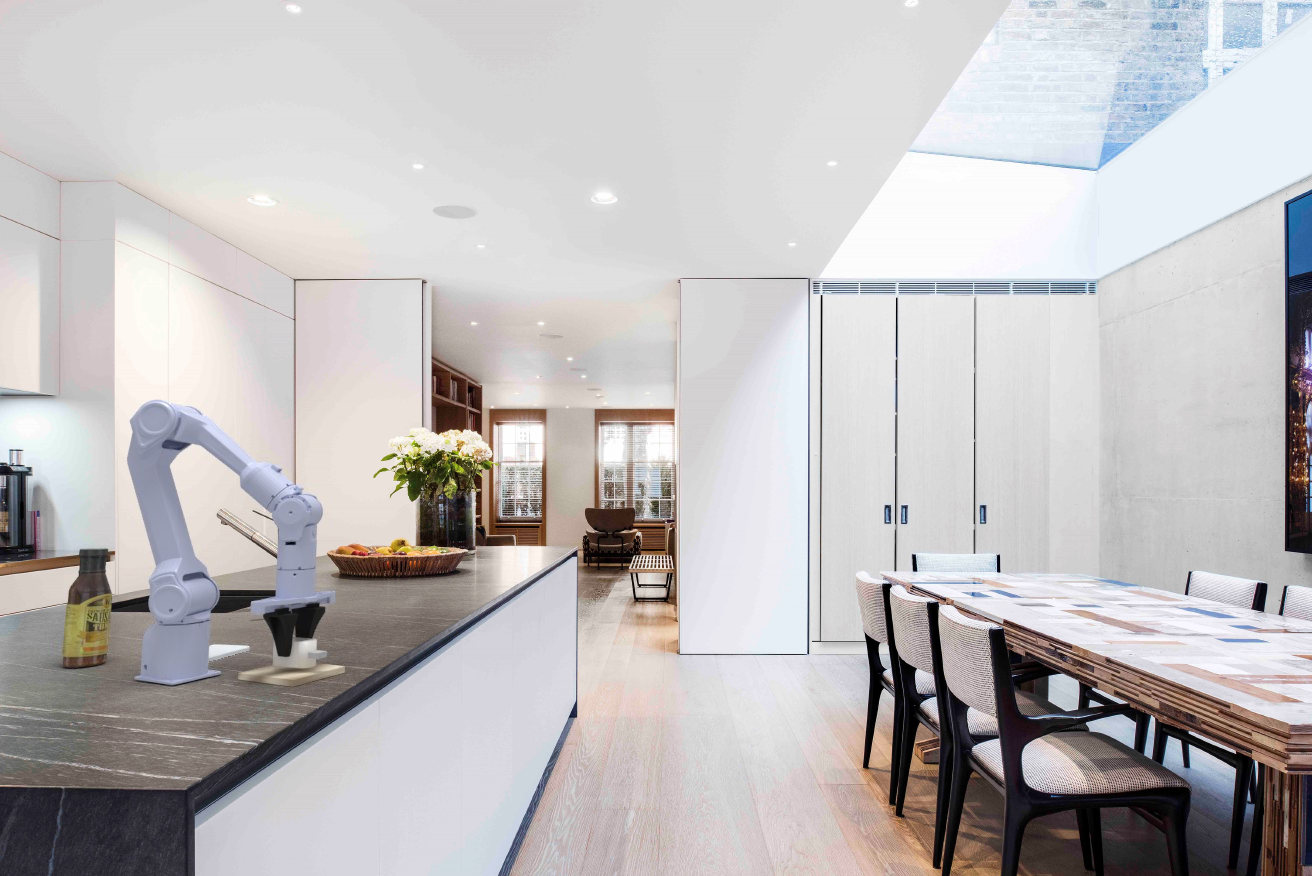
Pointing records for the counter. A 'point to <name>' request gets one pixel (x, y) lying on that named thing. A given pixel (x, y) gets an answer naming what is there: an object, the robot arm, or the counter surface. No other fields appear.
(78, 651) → the sauce bottle
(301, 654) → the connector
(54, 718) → the counter surface
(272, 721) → the counter surface
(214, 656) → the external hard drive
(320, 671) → the birch board
